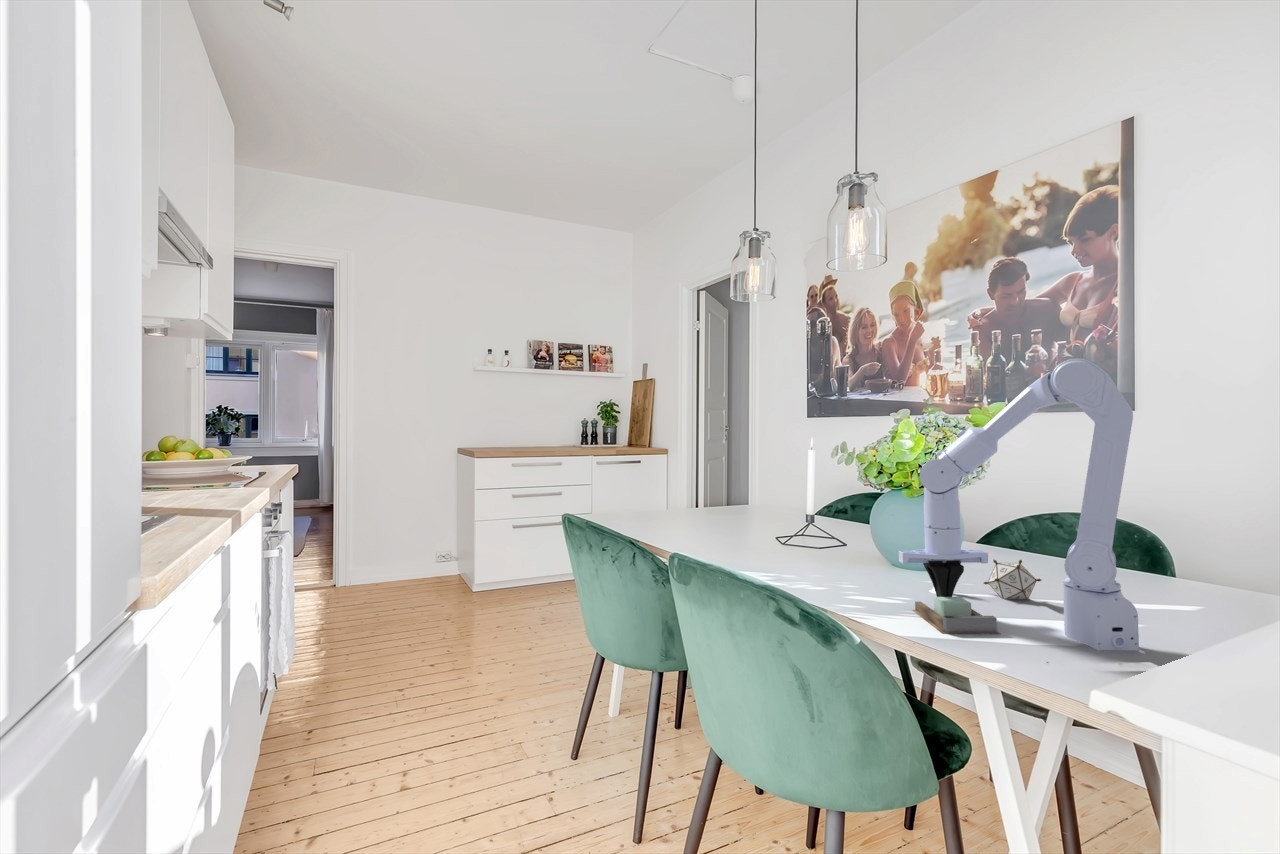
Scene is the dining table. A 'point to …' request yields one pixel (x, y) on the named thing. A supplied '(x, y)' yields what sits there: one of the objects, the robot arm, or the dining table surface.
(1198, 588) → the dining table surface
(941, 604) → the block
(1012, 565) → the game die
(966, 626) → the chute
